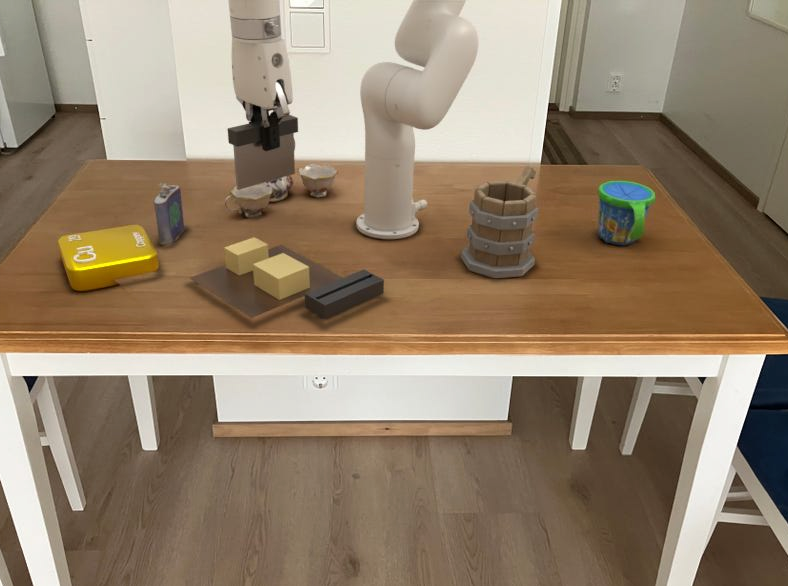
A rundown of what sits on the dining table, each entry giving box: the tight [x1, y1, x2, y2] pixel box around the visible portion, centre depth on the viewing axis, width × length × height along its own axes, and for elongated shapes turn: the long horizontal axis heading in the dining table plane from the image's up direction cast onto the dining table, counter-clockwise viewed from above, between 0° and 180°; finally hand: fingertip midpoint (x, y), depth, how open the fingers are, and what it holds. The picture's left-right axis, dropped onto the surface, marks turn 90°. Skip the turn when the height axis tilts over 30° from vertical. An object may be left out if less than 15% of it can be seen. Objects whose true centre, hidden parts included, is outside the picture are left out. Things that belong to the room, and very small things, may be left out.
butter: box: [253, 253, 310, 300], centre depth 131 cm, size 6×7×4 cm
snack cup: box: [597, 180, 656, 246], centre depth 152 cm, size 16×11×10 cm
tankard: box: [460, 166, 539, 279], centre depth 143 cm, size 20×13×15 cm, turn 147°
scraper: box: [227, 114, 299, 190], centre depth 129 cm, size 12×2×10 cm, turn 135°
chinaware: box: [224, 139, 339, 218], centre depth 163 cm, size 28×17×17 cm, turn 139°
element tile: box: [57, 224, 160, 292], centre depth 138 cm, size 15×15×5 cm
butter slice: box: [223, 236, 269, 276], centre depth 137 cm, size 6×4×4 cm, turn 134°
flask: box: [153, 183, 186, 247], centre depth 147 cm, size 9×3×11 cm, turn 172°
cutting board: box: [189, 244, 344, 319], centre depth 135 cm, size 20×18×2 cm
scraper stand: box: [304, 268, 385, 320], centre depth 128 cm, size 13×5×4 cm, turn 134°
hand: (265, 145), depth 128 cm, fingers closed on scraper, 2 cm apart
